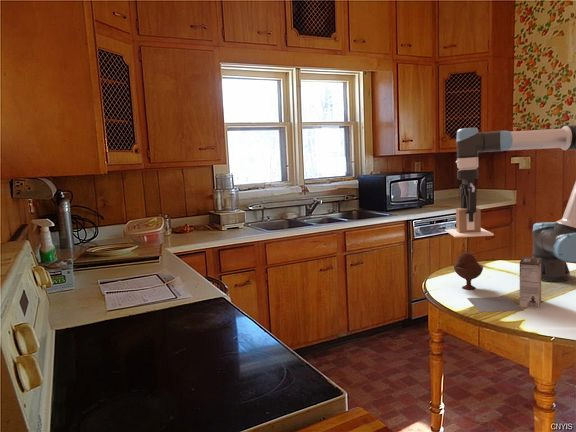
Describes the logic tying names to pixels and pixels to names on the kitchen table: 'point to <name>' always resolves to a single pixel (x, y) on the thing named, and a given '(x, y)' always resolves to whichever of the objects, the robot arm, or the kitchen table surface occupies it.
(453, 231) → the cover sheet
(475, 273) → the ice cream bowl
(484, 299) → the mat
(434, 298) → the kitchen table surface
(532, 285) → the coffee box
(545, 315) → the kitchen table surface
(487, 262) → the kitchen table surface
